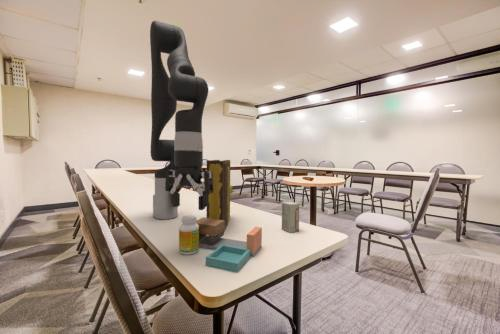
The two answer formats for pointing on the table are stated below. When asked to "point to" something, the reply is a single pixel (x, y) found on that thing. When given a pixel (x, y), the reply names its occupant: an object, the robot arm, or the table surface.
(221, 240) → the rail
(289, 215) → the skincare box
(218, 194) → the book
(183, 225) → the supplement bottle
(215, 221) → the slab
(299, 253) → the table surface
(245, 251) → the cradle
